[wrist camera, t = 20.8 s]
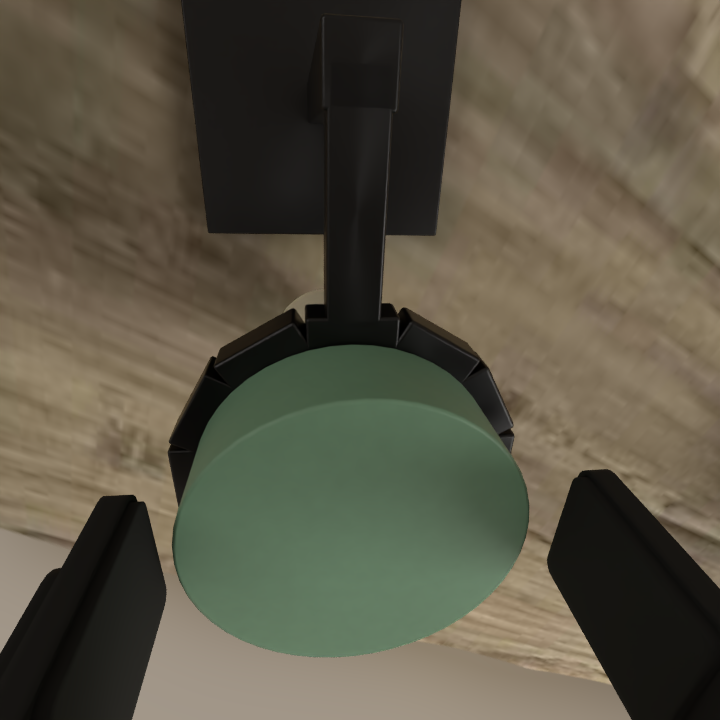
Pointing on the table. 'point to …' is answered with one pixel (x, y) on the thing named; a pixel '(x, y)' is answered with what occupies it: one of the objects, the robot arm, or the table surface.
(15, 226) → the table surface
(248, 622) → the canister
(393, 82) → the holder
